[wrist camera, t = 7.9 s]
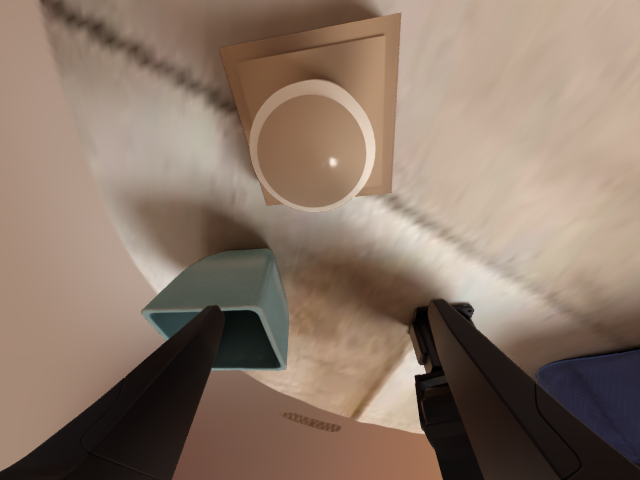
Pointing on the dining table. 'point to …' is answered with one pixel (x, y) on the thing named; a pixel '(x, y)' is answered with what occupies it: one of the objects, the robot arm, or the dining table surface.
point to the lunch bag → (601, 396)
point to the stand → (326, 78)
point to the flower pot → (231, 307)
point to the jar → (312, 145)
